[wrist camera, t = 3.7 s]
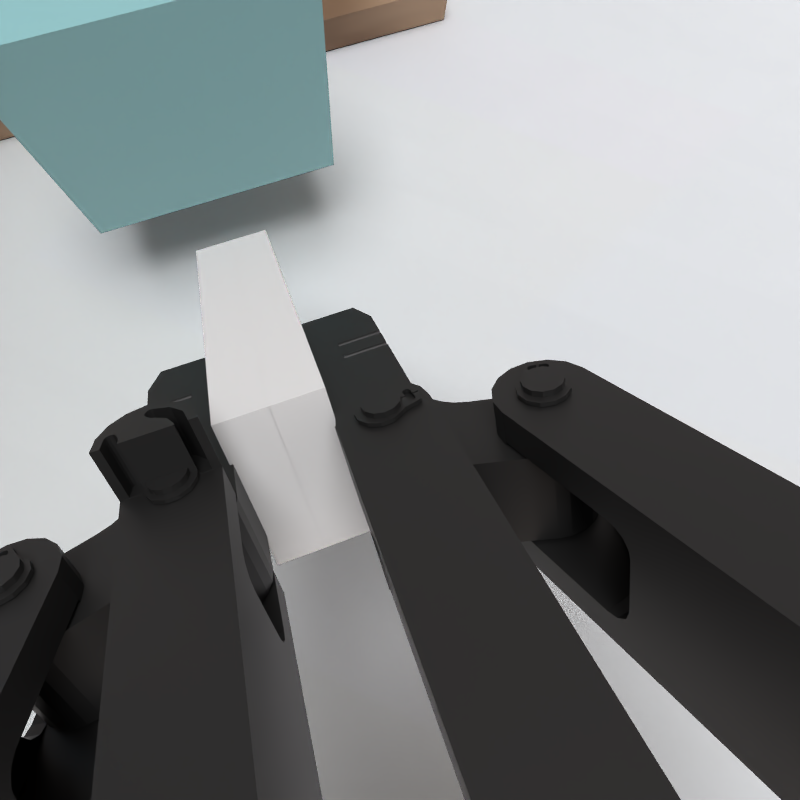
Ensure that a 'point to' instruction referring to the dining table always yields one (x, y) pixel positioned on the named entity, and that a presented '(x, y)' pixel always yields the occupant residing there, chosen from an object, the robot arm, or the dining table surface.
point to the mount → (362, 22)
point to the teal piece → (165, 98)
